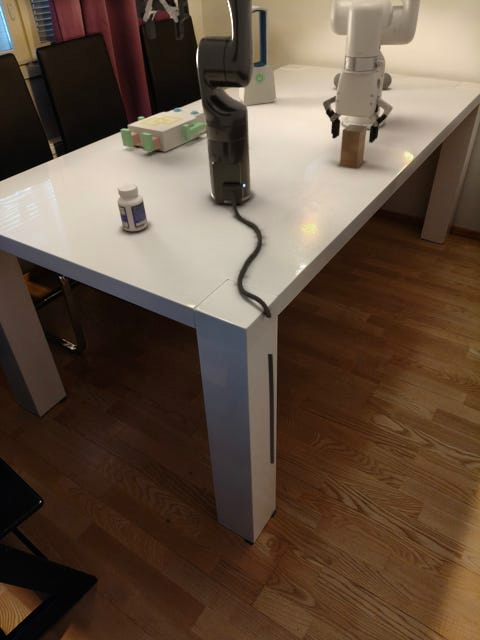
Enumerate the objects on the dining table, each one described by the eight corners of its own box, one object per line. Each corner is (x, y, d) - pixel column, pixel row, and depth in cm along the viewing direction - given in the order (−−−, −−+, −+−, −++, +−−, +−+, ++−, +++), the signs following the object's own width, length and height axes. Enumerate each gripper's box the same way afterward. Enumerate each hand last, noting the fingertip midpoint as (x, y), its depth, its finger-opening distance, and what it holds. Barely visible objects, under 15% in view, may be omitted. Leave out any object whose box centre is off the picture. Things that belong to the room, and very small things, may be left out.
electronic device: (244, 105, 178) (240, 9, 160) (238, 101, 184) (234, 7, 165) (276, 101, 180) (276, 5, 162) (270, 97, 186) (269, 4, 168)
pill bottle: (149, 220, 107) (142, 181, 102) (146, 231, 103) (138, 191, 98) (125, 221, 107) (116, 182, 102) (121, 232, 103) (112, 193, 98)
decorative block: (168, 104, 160) (216, 111, 150) (170, 124, 164) (217, 132, 154) (109, 125, 144) (159, 134, 134) (114, 147, 148) (162, 157, 138)
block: (363, 161, 129) (366, 126, 123) (356, 168, 126) (360, 132, 120) (346, 159, 131) (349, 124, 125) (339, 165, 128) (342, 130, 122)
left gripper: (190, -44, 111) (197, 37, 121) (142, -42, 117) (152, 36, 127) (170, -42, 106) (180, 42, 116) (121, -40, 112) (134, 40, 122)
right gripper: (402, 63, 112) (391, 139, 123) (331, 59, 120) (327, 131, 130) (392, 69, 107) (382, 147, 118) (319, 65, 115) (316, 139, 125)
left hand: (165, 39), depth 122 cm, fingers open, 8 cm apart
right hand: (353, 139), depth 124 cm, fingers open, 9 cm apart
